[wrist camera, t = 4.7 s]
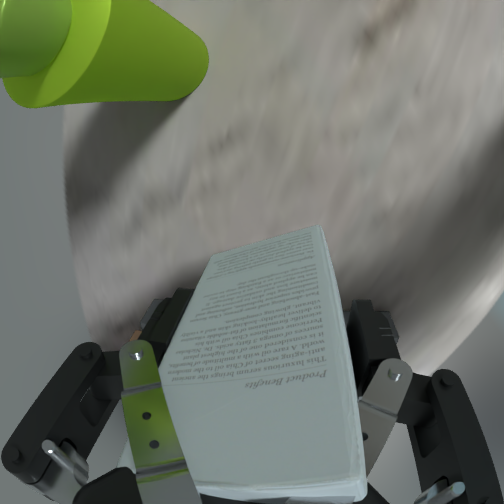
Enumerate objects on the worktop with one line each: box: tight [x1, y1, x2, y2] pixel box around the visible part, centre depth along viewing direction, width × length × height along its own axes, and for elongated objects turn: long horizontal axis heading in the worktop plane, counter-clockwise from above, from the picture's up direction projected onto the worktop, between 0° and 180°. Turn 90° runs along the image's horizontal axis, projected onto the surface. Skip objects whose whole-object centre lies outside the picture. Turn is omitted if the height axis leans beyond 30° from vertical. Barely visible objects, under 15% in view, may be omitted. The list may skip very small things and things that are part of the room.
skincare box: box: [116, 225, 368, 504], centre depth 11 cm, size 6×4×12 cm
